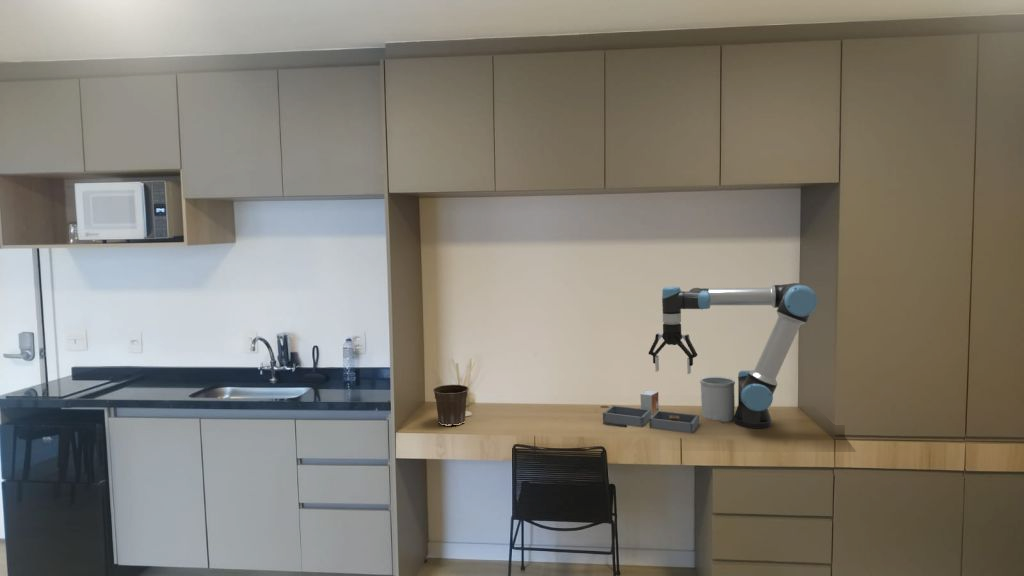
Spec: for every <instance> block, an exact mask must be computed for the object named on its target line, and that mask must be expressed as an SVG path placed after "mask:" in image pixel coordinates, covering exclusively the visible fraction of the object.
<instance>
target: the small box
mask: <svg viewBox="0 0 1024 576" xmlns="http://www.w3.org/2000/svg"><path fill="white" fill-rule="evenodd" d="M659 406H660V405H659V391H656V390H646V391H644V392H642V393H640V409H649V410H651V417H652V416H653V415H654V414H655V413H656V412H657V411H660V410H659V408H660V407H659Z"/></svg>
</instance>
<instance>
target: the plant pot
mask: <svg viewBox="0 0 1024 576" xmlns="http://www.w3.org/2000/svg"><path fill="white" fill-rule="evenodd" d="M468 391H469V386H466V385H463V384H446V385H445V384H444V385H439V386H437V387H435V388H433V389H432V392H433V393H434V399H435V403H436V411H437V421H439V422H440V423H441V424H447V425H448V424H459V423H462V422H464V421H465V422H466V411H467V409H466V408H467V398H468V393H469V392H468ZM439 422H438V423H439Z"/></svg>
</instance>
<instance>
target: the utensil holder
mask: <svg viewBox="0 0 1024 576" xmlns="http://www.w3.org/2000/svg"><path fill="white" fill-rule="evenodd" d="M699 380H700V381H699V383H700V393H701V394H700V401H701V415H702V417H703V418H706V419H708V420H713V421H720V422H721V423H728V422H731V421H734V416H735V403H736V402H735V384H736V381H735V379H733V378H731V377H727V376H721V375H720V376H719V375H718V376H712V375H711V376H704V377H701V378H700V379H699Z"/></svg>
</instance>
